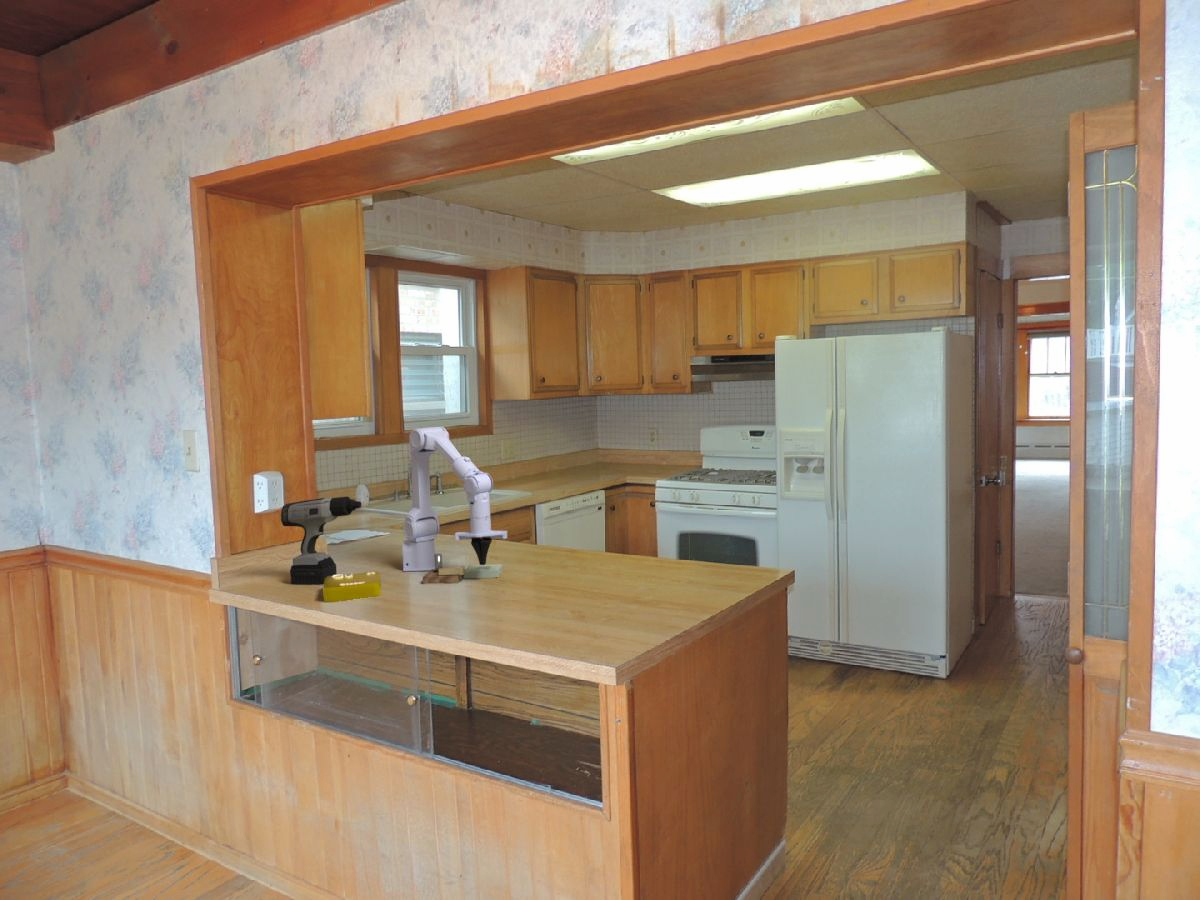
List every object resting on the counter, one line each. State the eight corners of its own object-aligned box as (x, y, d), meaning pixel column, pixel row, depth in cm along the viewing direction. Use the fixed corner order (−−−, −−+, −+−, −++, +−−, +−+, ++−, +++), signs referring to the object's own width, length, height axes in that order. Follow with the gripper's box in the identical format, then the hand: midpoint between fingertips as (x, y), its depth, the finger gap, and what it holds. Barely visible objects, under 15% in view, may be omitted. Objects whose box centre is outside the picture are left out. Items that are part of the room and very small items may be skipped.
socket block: (423, 583, 243) (422, 577, 242) (431, 576, 252) (430, 569, 251) (458, 583, 242) (457, 576, 242) (464, 575, 251) (464, 568, 251)
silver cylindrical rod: (434, 579, 248) (433, 555, 247) (436, 577, 250) (435, 553, 249) (442, 579, 248) (440, 555, 247) (443, 577, 250) (442, 553, 249)
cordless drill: (359, 585, 244) (353, 498, 241) (281, 584, 249) (274, 499, 246) (371, 578, 251) (366, 494, 249) (296, 577, 256) (289, 495, 254)
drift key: (438, 575, 242) (438, 568, 242) (440, 573, 245) (440, 566, 245) (463, 574, 242) (463, 567, 242) (465, 572, 244) (464, 565, 244)
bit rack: (464, 578, 247) (463, 571, 247) (469, 571, 255) (469, 565, 255) (498, 577, 247) (498, 570, 247) (503, 570, 255) (502, 564, 254)
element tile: (323, 604, 226) (322, 587, 226) (326, 591, 241) (324, 574, 240) (382, 598, 230) (381, 581, 230) (381, 585, 244) (380, 569, 244)
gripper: (451, 520, 238) (454, 568, 239) (503, 518, 237) (505, 566, 238) (457, 515, 245) (459, 562, 246) (507, 514, 244) (510, 561, 245)
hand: (482, 564), depth 242 cm, fingers closed
